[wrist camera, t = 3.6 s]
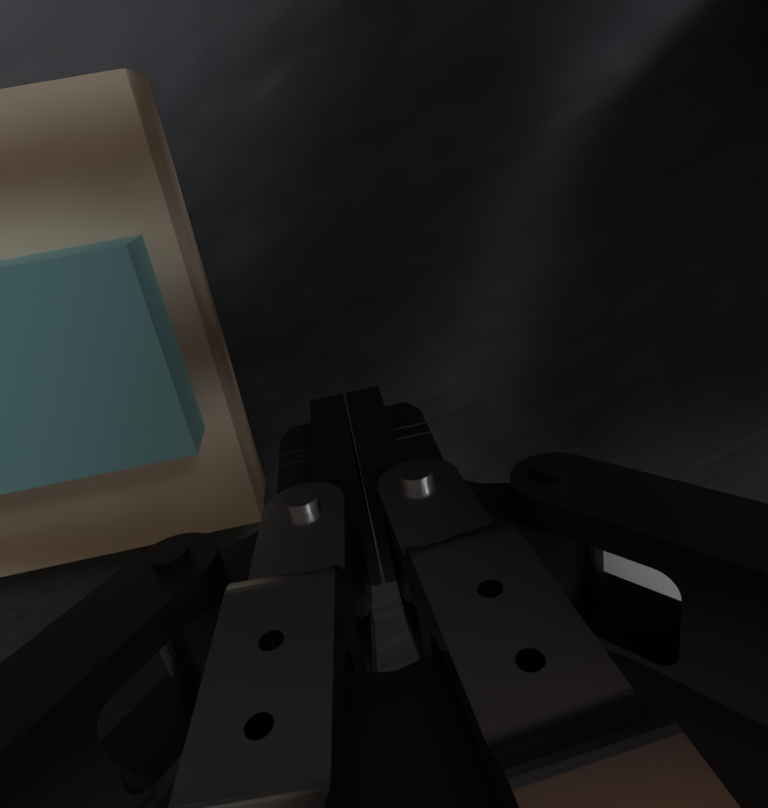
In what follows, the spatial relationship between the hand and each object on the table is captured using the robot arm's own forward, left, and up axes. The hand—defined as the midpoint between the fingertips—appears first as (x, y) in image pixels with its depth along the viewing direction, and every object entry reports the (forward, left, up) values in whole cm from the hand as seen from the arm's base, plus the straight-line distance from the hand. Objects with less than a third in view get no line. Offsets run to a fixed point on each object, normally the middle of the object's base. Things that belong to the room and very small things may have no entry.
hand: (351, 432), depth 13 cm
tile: (0, -10, -9) cm, 13 cm away
